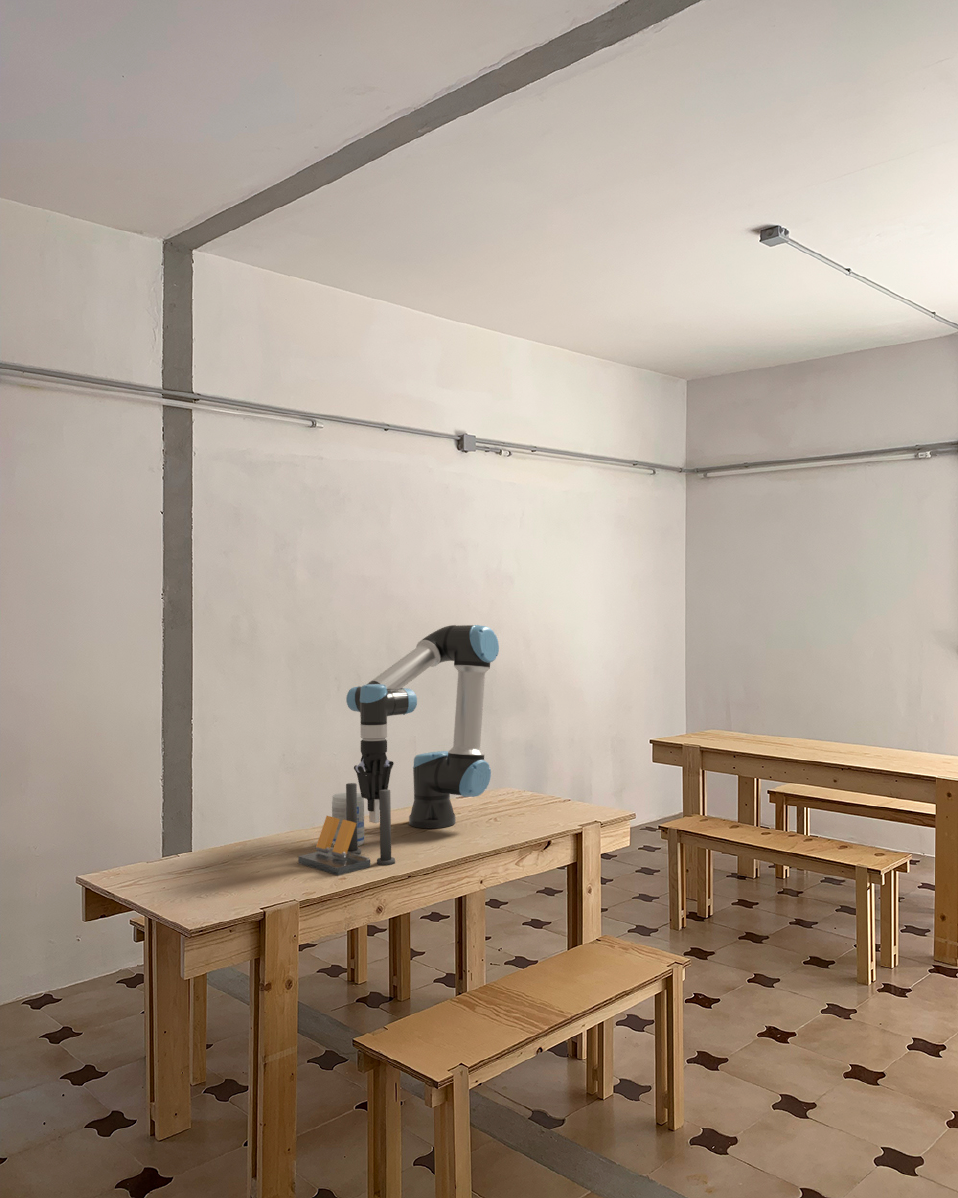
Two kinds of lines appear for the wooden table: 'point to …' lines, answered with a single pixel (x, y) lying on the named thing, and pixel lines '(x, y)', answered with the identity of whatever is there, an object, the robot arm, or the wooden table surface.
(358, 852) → the post
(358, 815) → the supplement tub
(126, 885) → the wooden table surface
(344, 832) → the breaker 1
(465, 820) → the wooden table surface
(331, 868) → the panel plate
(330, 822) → the orange flat block
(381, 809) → the post
